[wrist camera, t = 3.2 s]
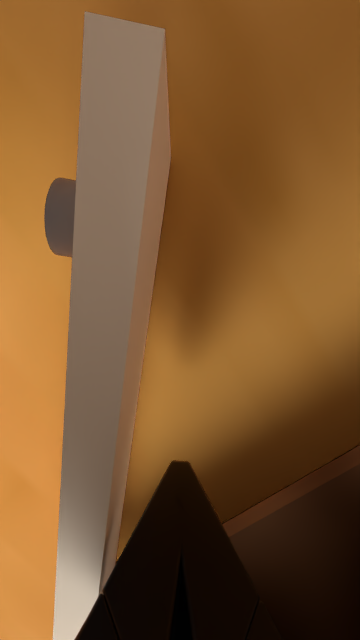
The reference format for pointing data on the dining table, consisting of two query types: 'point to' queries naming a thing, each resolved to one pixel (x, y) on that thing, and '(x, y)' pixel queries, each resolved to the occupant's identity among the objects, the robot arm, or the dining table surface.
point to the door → (106, 292)
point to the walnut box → (307, 552)
